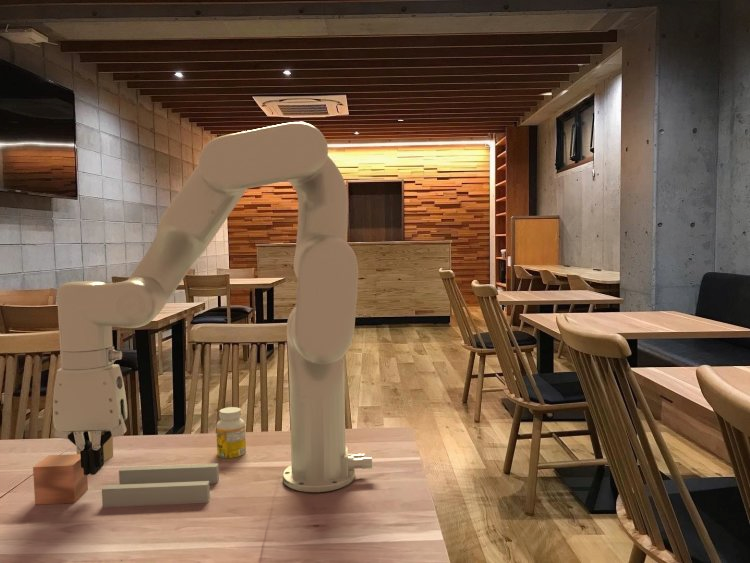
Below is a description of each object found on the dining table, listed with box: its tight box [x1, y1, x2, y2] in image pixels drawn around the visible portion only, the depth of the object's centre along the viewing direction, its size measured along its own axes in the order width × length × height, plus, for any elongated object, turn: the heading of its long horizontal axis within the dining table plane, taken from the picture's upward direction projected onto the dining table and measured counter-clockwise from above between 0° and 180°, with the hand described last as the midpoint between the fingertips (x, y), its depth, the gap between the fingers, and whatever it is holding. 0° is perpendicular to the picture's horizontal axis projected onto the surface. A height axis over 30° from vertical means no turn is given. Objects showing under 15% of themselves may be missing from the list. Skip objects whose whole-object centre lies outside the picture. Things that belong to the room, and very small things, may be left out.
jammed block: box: [32, 453, 89, 505], centre depth 95 cm, size 6×5×6 cm
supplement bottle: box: [215, 406, 247, 459], centre depth 113 cm, size 5×5×10 cm
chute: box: [101, 463, 220, 508], centre depth 96 cm, size 24×12×4 cm, turn 94°
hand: (93, 471), depth 95 cm, fingers closed
